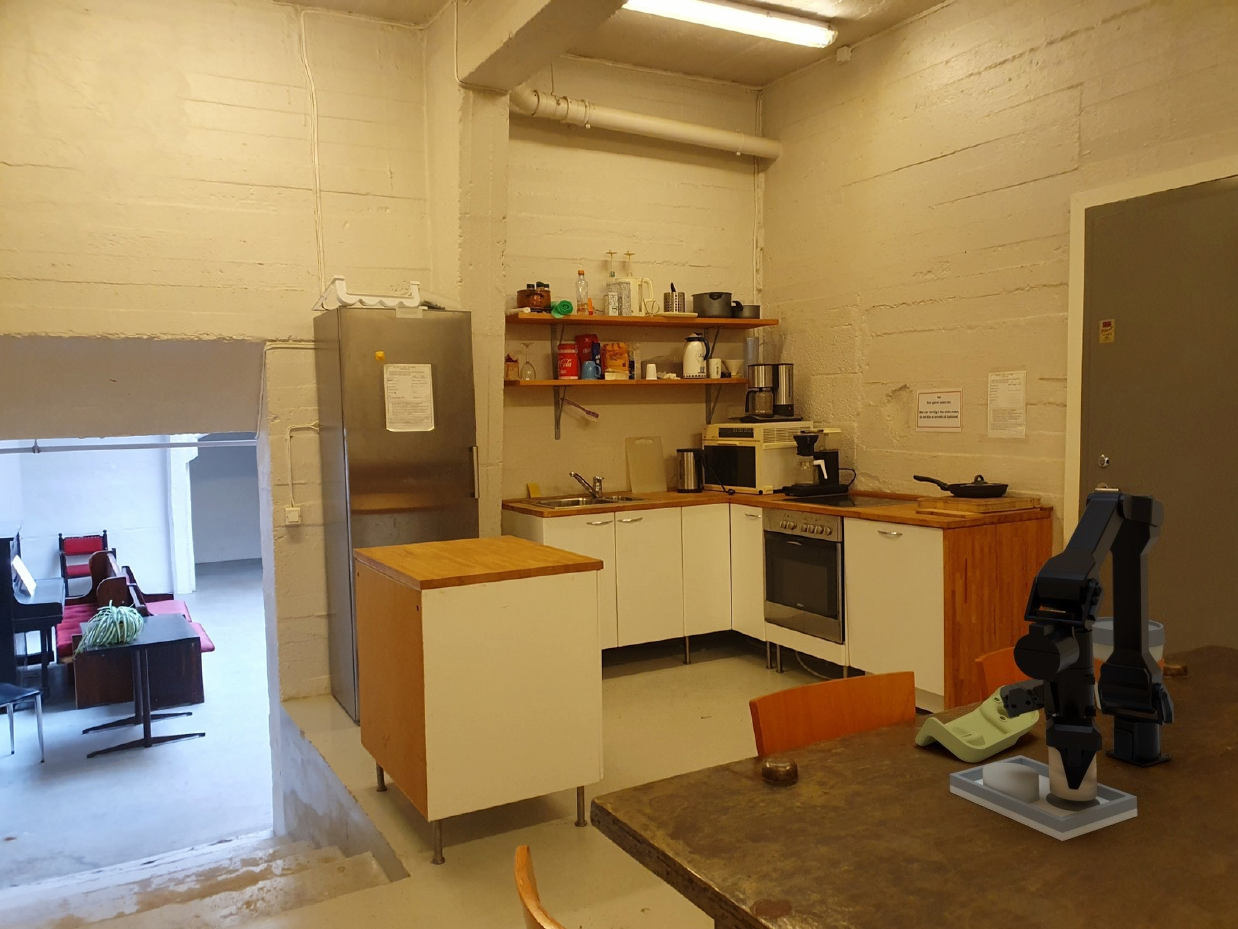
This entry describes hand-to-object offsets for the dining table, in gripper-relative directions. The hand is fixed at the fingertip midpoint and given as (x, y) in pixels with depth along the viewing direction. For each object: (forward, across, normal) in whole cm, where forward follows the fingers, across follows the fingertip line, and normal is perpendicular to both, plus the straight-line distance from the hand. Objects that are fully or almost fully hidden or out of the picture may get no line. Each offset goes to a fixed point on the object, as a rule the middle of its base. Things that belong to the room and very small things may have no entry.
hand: (1072, 780), depth 120 cm
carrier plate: (+4, -1, -4) cm, 6 cm away
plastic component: (+4, -23, -12) cm, 26 cm away
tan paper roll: (+2, 0, 0) cm, 2 cm away
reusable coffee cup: (+4, -49, +10) cm, 50 cm away
